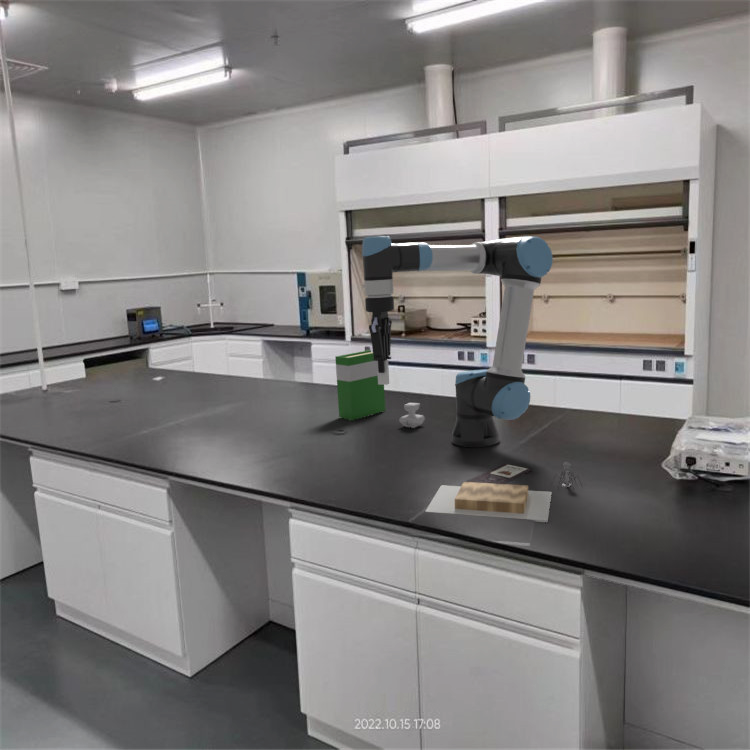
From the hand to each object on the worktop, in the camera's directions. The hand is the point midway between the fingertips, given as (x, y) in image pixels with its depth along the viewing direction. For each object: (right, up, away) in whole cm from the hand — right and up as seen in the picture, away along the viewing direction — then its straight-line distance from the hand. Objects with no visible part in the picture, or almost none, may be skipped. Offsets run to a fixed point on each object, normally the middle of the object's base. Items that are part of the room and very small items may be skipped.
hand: (383, 383), depth 175 cm
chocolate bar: (+31, -26, 0) cm, 41 cm away
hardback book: (-7, -13, +78) cm, 79 cm away
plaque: (+18, -27, -16) cm, 36 cm away
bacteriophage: (+47, -27, -9) cm, 55 cm away
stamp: (+11, -16, +56) cm, 60 cm away
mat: (+26, -29, -18) cm, 42 cm away
